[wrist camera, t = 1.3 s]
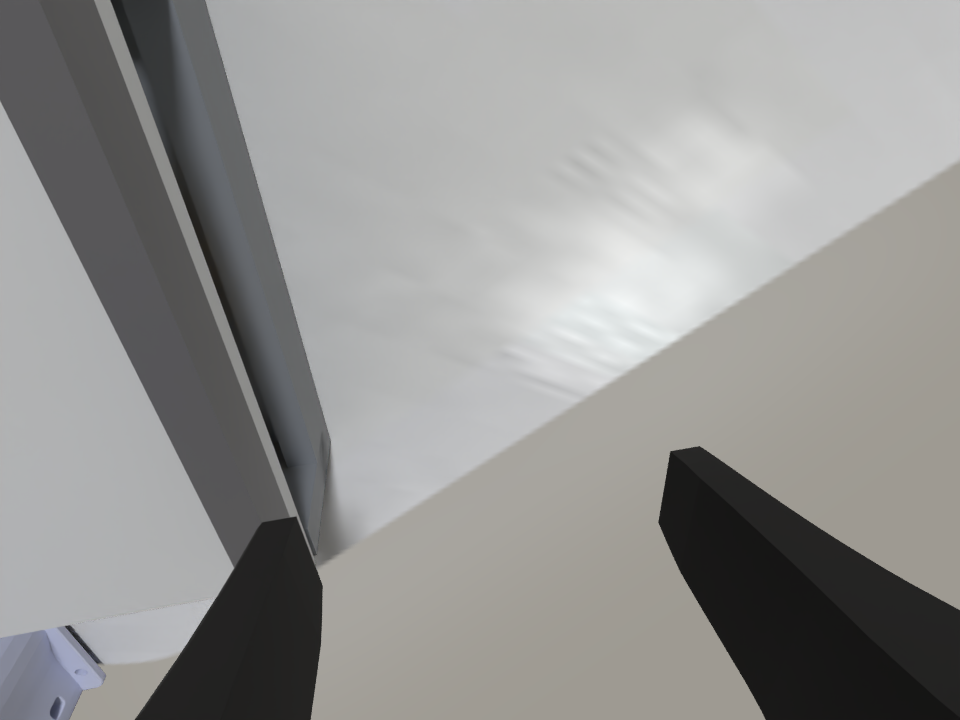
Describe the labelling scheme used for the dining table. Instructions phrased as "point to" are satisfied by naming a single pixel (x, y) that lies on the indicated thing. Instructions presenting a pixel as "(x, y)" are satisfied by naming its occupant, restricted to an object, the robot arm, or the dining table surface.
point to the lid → (110, 347)
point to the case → (231, 230)
